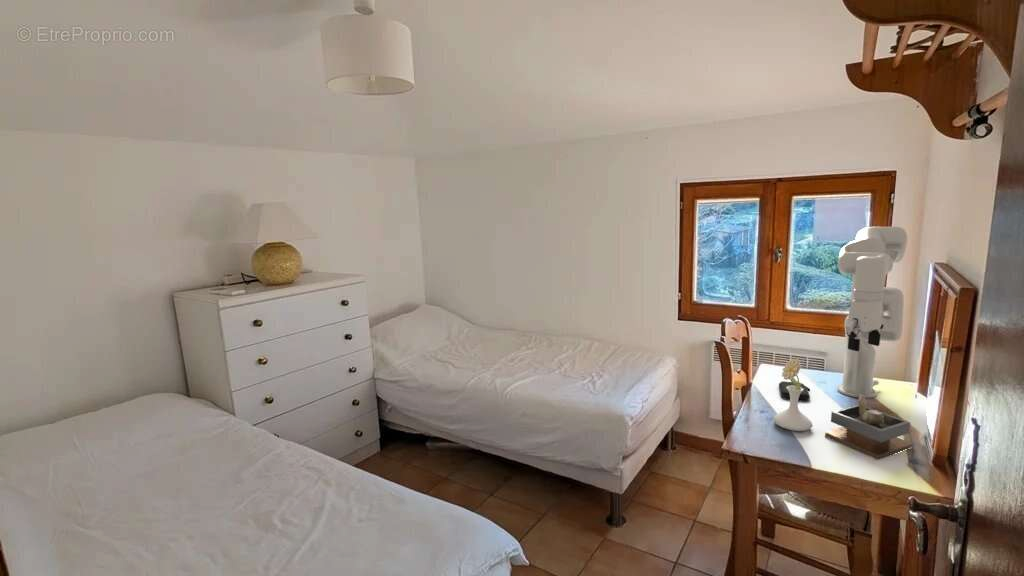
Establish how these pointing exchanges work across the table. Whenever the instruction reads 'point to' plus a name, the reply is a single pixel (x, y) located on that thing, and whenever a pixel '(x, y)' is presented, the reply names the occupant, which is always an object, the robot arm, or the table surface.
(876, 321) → the robot arm
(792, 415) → the flower in vase
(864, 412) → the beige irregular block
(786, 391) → the carrying case or bag
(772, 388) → the table surface
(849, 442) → the tray stand
